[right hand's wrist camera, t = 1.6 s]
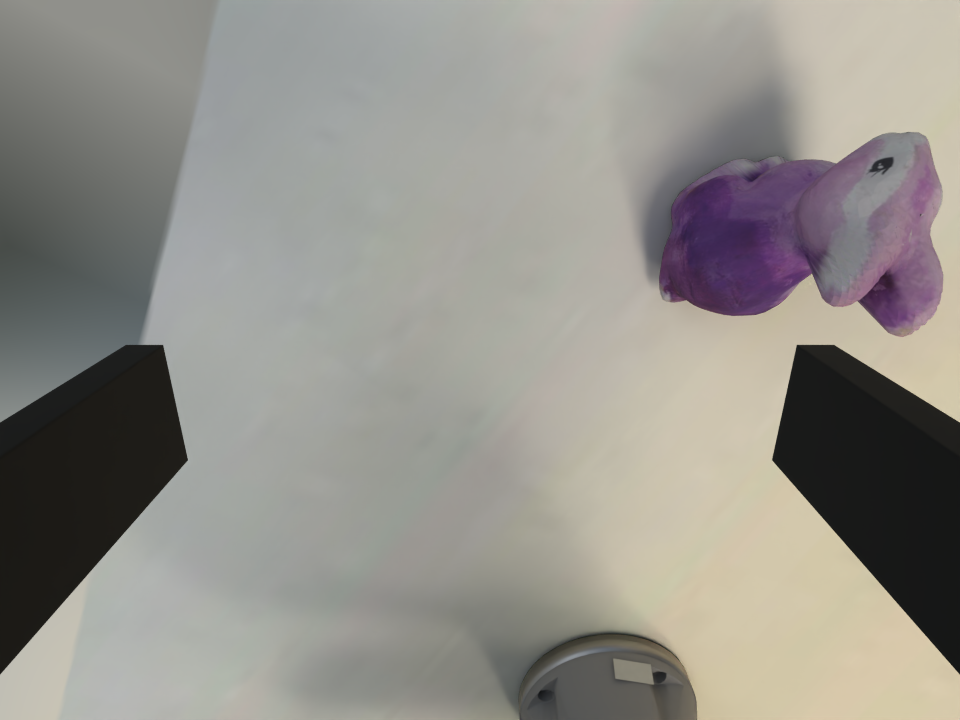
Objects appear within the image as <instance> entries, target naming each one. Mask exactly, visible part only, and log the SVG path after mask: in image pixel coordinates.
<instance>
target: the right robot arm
mask: <svg viewBox="0 0 960 720" xmlns="http://www.w3.org/2000/svg"><path fill="white" fill-rule="evenodd" d="M187 461H188V458H187V454H186V449H185V445H184V440H183V435H182V431H181V426H180V421H179V417H178V412H177V407H176V403H175V398H174V394H173V389H172V384H171V380H170V375H169V370H168V366H167V361H166V356H165V352H164V347H163V345H125V346H124V347H122V348H120V349H119V350H117V351H116V352H114V353H112V354H111V355H109V356H107V357H106V358H104V359H103V360H101V361H99V362H98V363H96V364H95V365H93V366H91V367H90V368H88V369H86V370H85V371H83V372H82V373H80V374H78V375H77V376H75V377H73V378H72V379H70V380H69V381H67V382H65V383H64V384H62V385H60V386H59V387H57V388H56V389H54V390H52V391H51V392H49V393H47V394H46V395H44V396H43V397H41V398H39V399H38V400H36V401H35V402H33V403H31V404H30V405H28V406H26V407H25V408H23V409H22V410H20V411H18V412H17V413H15V414H13V415H12V416H10V417H9V418H7V419H5V420H4V421H2V422H0V674H1V673H2V672H3V671H4V669H5V668H6V667H7V666H8V665H9V664H10V663H11V661H12V660H13V659H14V658H15V657H16V656H17V655H18V653H19V652H20V651H21V650H22V649H23V648H24V647H25V645H26V644H27V643H28V642H29V641H30V640H31V639H32V637H33V636H34V635H35V634H36V633H37V632H38V631H39V629H40V628H41V627H42V626H43V625H44V624H45V623H46V621H47V620H48V619H49V618H50V617H51V616H52V615H53V613H54V612H55V611H56V610H57V609H58V608H59V607H60V605H61V604H62V603H63V602H64V601H65V600H66V599H67V598H68V596H69V595H70V594H71V593H72V592H73V591H74V589H75V588H76V587H77V586H78V585H79V584H80V583H81V582H82V580H83V579H84V578H85V577H86V576H87V575H88V574H89V572H90V571H91V570H92V569H93V568H94V567H95V566H96V564H97V563H98V562H99V561H100V560H101V559H102V558H103V556H104V555H105V554H106V553H107V552H108V551H109V550H110V548H111V547H112V546H113V545H114V544H115V543H116V542H117V540H118V539H119V538H120V537H121V536H122V535H123V534H124V532H125V531H126V530H127V529H128V528H129V527H130V526H131V524H132V523H133V522H134V521H135V520H136V519H137V518H138V516H139V515H140V514H141V513H142V512H143V511H144V510H145V508H146V507H147V506H148V505H149V504H150V503H151V502H152V501H153V499H154V498H155V497H156V496H157V495H158V494H159V493H160V491H161V490H162V489H163V488H164V487H165V486H166V485H167V483H168V482H169V481H170V480H171V479H172V478H173V477H174V475H175V474H176V473H177V472H178V471H179V470H180V469H181V467H182V466H183V465H184V464H185V463H186V462H187ZM772 461H773V462H774V463H775V464H776V465H777V466H778V467H779V469H780V470H781V471H782V472H783V473H784V474H785V475H786V477H787V478H788V479H789V480H790V481H791V482H792V483H793V485H794V486H795V487H796V488H797V489H798V490H799V491H800V493H801V494H802V495H803V496H804V497H805V498H806V499H807V501H808V502H809V503H810V504H811V505H812V506H813V507H814V508H815V510H816V511H817V512H818V513H819V514H820V515H821V516H822V518H823V519H824V520H825V521H826V522H827V523H828V524H829V526H830V527H831V528H832V529H833V530H834V531H835V532H836V534H837V535H838V536H839V537H840V538H841V539H842V540H843V542H844V543H845V544H846V545H847V546H848V547H849V548H850V550H851V551H852V552H853V553H854V554H855V555H856V556H857V558H858V559H859V560H860V561H861V562H862V563H863V564H864V566H865V567H866V568H867V569H868V570H869V571H870V572H871V574H872V575H873V576H874V577H875V578H876V579H877V580H878V582H879V583H880V584H881V585H882V586H883V587H884V588H885V590H886V591H887V592H888V593H889V594H890V595H891V596H892V598H893V599H894V600H895V601H896V602H897V603H898V604H899V606H900V607H901V608H902V609H903V610H904V611H905V612H906V614H907V615H908V616H909V617H910V618H911V619H912V620H913V622H914V623H915V624H916V625H917V626H918V627H919V628H920V629H921V631H922V632H923V633H924V634H925V635H926V636H927V637H928V639H929V640H930V641H931V642H932V643H933V644H934V645H935V647H936V648H937V649H938V650H939V651H940V652H941V653H942V655H943V656H944V657H945V658H946V659H947V660H948V661H949V663H950V664H951V665H952V666H953V667H954V668H955V669H956V671H957V672H958V673H959V674H960V422H958V421H956V420H955V419H953V418H951V417H950V416H948V415H947V414H945V413H943V412H942V411H940V410H938V409H937V408H935V407H934V406H932V405H930V404H929V403H927V402H925V401H924V400H922V399H921V398H919V397H917V396H916V395H914V394H913V393H911V392H909V391H908V390H906V389H904V388H903V387H901V386H900V385H898V384H896V383H895V382H893V381H891V380H890V379H888V378H887V377H885V376H883V375H882V374H880V373H878V372H877V371H875V370H874V369H872V368H870V367H869V366H867V365H866V364H864V363H862V362H861V361H859V360H857V359H856V358H854V357H853V356H851V355H849V354H848V353H846V352H844V351H843V350H841V349H840V348H838V347H836V346H835V345H797V347H796V352H795V356H794V361H793V366H792V370H791V375H790V380H789V384H788V389H787V394H786V398H785V403H784V407H783V412H782V417H781V421H780V426H779V431H778V435H777V440H776V445H775V449H774V454H773V458H772ZM519 711H520V720H697V705H696V698H695V694H694V691H693V689H692V686H691V683H690V681H689V678H688V675H687V673H686V671H685V669H684V667H683V666H682V664H681V663H680V661H679V660H678V659H677V658H676V657H675V656H674V655H673V654H672V653H670V652H669V651H668V650H666V649H665V648H663V647H661V646H660V645H658V644H656V643H653V642H651V641H648V640H645V639H642V638H638V637H634V636H628V635H618V634H605V635H595V636H588V637H584V638H580V639H576V640H573V641H570V642H568V643H565V644H563V645H561V646H558V647H557V648H555V649H553V650H551V651H550V652H548V653H547V654H545V655H544V656H543V657H542V658H540V659H539V660H538V661H537V662H536V663H535V664H534V665H533V666H532V667H531V669H530V670H529V671H528V673H527V674H526V676H525V678H524V680H523V682H522V685H521V688H520V692H519Z"/></svg>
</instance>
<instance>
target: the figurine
mask: <svg viewBox="0 0 960 720" xmlns="http://www.w3.org/2000/svg"><path fill="white" fill-rule="evenodd" d="M942 196H943V191H942V186H941V183H940V180H939V177H938V175H937V172H936V170H935V166H934V162H933V158H932V155H931V150H930V145H929V141H928V139H927V138H926V136H924V135H922V134H920V133H917V132H906V133H886V134H882V135H880V136H878V137H875V138H873V139H872V140H870V141H869V142H867V143H866V144H864V145H863V146H861V147H860V148H858V149H857V150H855V151H854V152H852V153H851V154H849V155H848V156H847V157H845V158H844V159H842V160H841V161H840V162H838V163H837V164H835V163H832V162H829V161H824V160H798V161H790V162H789V161H787V160H785V159H784V158H783V157H780V156H773V157H769V158H766V159H764V160H761V161H759V162H752V161H751V160H748V159H736V160H732V161H730V162H728V163H726V164H724V165H722V166H720V167H718V168H716V169H714V170H712V171H711V172H710V173H708V174H706V175H704V176H702V177H700V178H699V179H697V180H696V181H695V182H694V183H692V184H690V185H689V186H688V187H686V188H685V189H684V190H683V191H681V192H680V193H679V195H678V197H677V198H676V200H675V201H674V203H673V206H672V210H671V218H672V223H673V224H672V231H671V234H670V236H669V238H668V241H667V243H666V246H665V249H664V252H663V258H662V264H661V270H660V276H659V288H660V293H661V296H662V298H663V300H665V301H668V302H680V301H684V300H687V301H689V302H690V303H691V304H693V305H695V306H697V307H699V308H702V309H705V310H708V311H711V312H715V313H719V314H723V315H731V316H743V315H757V314H760V313H763V312H766V311H768V310H770V309H771V308H773V307H775V306H777V305H779V304H780V303H781V302H782V301H784V300H785V299H786V298H787V297H788V295H789V294H790V293H791V292H792V291H793V290H794V289H795V287H796V286H797V285H798V284H799V283H800V282H801V281H802V280H804V279H805V278H806V277H808V276H809V275H810V274H813V277H814V279H815V281H816V284H817V286H818V289H819V291H820V294H821V296H822V298H823V299H824V300H825V302H827V303H828V304H830V305H832V306H838V307H844V306H847V305H851V304H853V303H854V302H856V301H858V302H859V303H860V304H861V305H862V306H863V307H864V308H865V309H866V310H867V311H868V312H869V313H870V314H871V315H872V316H873V317H874V318H875V319H876V321H877V322H878V323H879V324H880V325H881V326H882V327H883V328H884V329H885V330H886V331H887V332H888V333H890V334H893V335H895V336H900V337H904V336H906V335H910V334H912V333H913V332H914V331H915V330H918V329H919V328H920V326H921V325H925V324H926V322H927V321H928V320H930V319H931V318H932V317H933V315H934V314H935V312H936V310H937V306H938V305H939V303H940V300H941V293H942V289H943V272H942V268H941V265H940V261H939V259H938V256H937V254H936V252H935V250H934V248H933V245H932V241H931V237H930V229H931V225H932V223H933V221H934V219H935V217H936V215H937V213H938V211H939V209H940V206H941V204H942Z"/></svg>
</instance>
